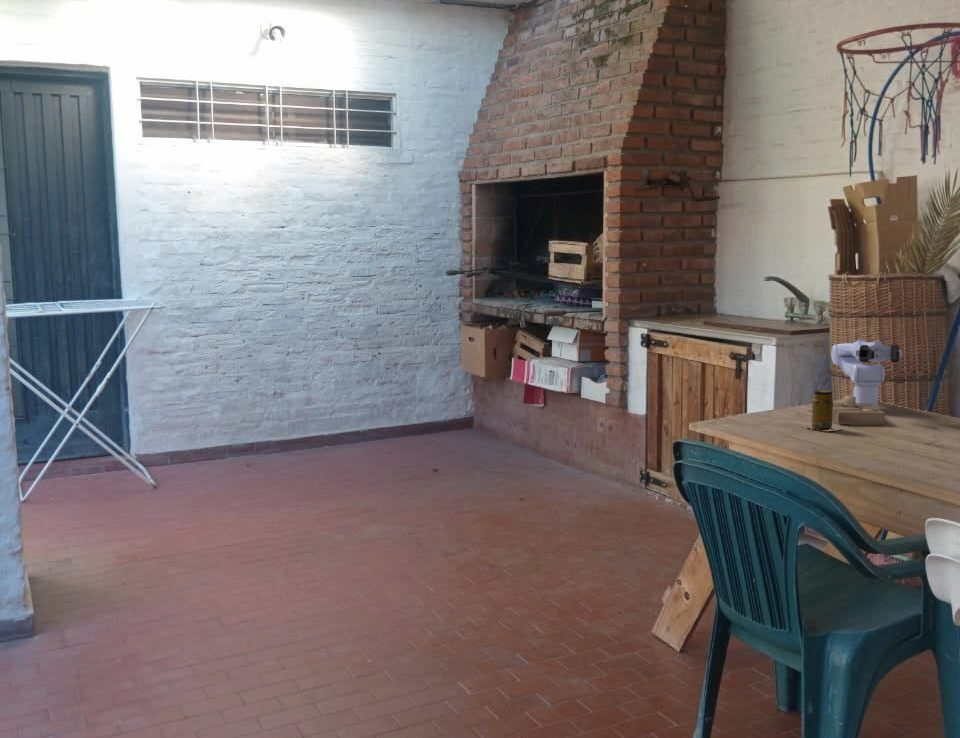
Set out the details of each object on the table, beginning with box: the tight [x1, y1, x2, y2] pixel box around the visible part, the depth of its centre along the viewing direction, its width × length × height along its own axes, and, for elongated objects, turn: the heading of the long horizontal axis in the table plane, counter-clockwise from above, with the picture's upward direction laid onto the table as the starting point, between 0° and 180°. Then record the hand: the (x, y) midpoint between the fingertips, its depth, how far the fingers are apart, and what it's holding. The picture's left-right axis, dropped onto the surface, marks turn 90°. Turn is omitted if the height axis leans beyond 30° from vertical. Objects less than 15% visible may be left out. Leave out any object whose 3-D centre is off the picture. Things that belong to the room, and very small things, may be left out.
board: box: [832, 402, 886, 426], centre depth 323 cm, size 16×14×4 cm
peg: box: [843, 395, 856, 407], centre depth 326 cm, size 4×4×4 cm
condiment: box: [811, 389, 834, 433], centre depth 309 cm, size 7×8×12 cm
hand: (885, 354), depth 317 cm, fingers open, 7 cm apart
